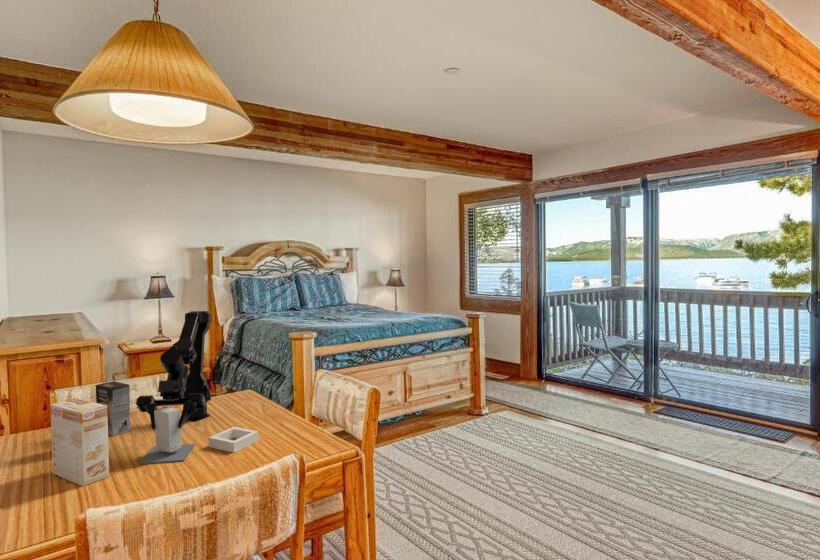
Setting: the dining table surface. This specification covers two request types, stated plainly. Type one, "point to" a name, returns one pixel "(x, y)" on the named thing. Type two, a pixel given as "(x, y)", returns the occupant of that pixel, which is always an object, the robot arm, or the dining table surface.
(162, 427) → the skincare box
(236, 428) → the white square frame
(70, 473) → the coffeecake box
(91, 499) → the dining table surface
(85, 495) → the dining table surface
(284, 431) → the dining table surface
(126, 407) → the coffee box
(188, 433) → the dining table surface
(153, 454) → the mat
